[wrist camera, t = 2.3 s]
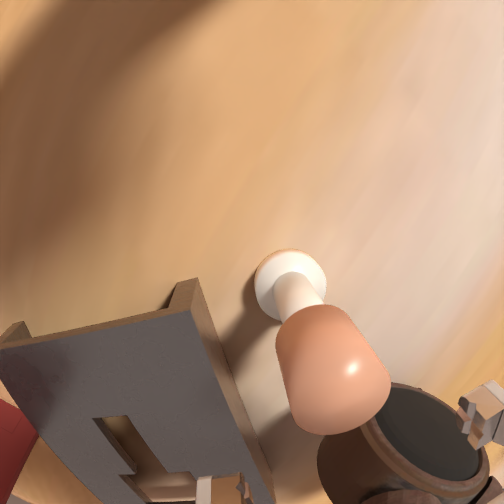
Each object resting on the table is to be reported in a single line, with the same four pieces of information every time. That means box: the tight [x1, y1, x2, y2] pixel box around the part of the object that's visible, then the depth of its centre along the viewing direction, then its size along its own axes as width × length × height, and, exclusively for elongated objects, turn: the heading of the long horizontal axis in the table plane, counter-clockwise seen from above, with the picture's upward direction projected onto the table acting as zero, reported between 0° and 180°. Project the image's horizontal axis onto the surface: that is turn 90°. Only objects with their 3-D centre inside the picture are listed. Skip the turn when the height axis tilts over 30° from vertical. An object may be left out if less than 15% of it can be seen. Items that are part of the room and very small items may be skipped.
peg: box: [254, 249, 391, 435], centre depth 17 cm, size 5×5×12 cm
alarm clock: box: [317, 382, 504, 504], centre depth 17 cm, size 14×7×20 cm, turn 68°
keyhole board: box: [0, 278, 276, 504], centre depth 24 cm, size 18×24×5 cm
